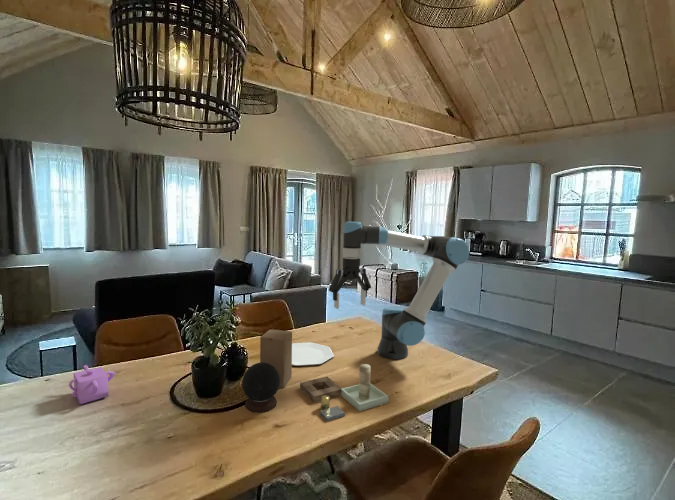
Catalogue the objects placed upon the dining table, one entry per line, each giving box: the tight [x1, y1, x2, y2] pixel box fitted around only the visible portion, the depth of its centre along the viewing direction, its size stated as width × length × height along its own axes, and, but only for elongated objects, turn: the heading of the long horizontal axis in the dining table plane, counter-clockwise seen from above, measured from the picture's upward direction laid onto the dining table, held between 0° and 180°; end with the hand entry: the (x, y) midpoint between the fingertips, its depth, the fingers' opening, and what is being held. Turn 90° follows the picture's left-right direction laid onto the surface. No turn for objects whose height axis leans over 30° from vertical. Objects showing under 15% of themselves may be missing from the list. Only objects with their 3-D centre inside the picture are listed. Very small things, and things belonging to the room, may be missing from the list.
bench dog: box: [320, 395, 331, 410], centre depth 127 cm, size 3×3×4 cm
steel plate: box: [319, 405, 346, 422], centre depth 123 cm, size 7×5×1 cm
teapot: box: [68, 364, 115, 405], centre depth 131 cm, size 18×14×10 cm
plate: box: [292, 341, 335, 367], centre depth 174 cm, size 28×28×2 cm
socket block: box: [299, 376, 342, 404], centre depth 139 cm, size 12×12×2 cm
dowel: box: [358, 363, 371, 400], centre depth 134 cm, size 4×4×12 cm
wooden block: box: [259, 329, 293, 389], centre depth 145 cm, size 10×10×20 cm
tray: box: [340, 382, 390, 412], centre depth 134 cm, size 13×13×2 cm
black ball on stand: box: [241, 362, 280, 414], centre depth 128 cm, size 13×13×15 cm
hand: (350, 306), depth 156 cm, fingers open, 13 cm apart
